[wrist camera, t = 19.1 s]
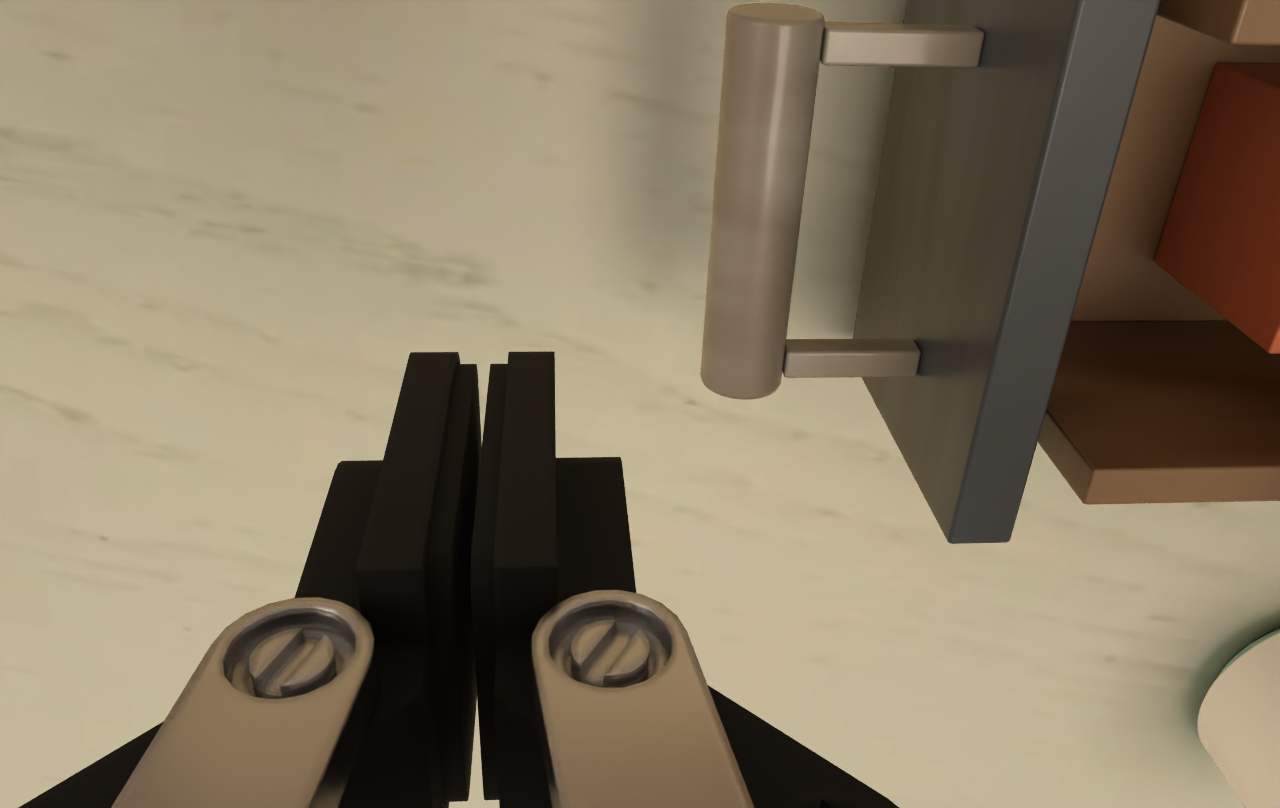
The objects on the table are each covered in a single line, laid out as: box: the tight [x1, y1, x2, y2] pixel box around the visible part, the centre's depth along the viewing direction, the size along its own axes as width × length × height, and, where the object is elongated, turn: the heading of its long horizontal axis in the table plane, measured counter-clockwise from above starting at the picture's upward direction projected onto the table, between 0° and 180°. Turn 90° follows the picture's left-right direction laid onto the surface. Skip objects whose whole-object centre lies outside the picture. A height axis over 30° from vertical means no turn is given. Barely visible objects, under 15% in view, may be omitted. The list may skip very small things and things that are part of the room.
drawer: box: [700, 0, 1280, 544], centre depth 20 cm, size 17×10×7 cm, turn 88°
